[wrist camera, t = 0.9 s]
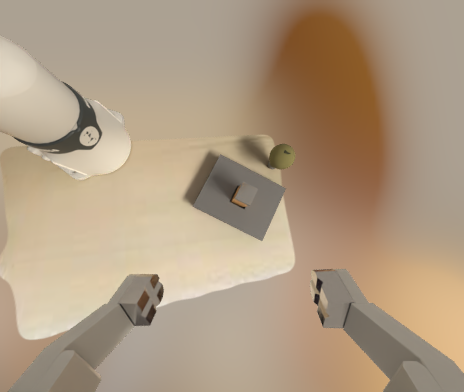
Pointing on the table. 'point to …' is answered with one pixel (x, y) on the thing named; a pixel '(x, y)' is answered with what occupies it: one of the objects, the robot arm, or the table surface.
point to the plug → (244, 195)
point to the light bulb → (281, 157)
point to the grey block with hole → (223, 189)
